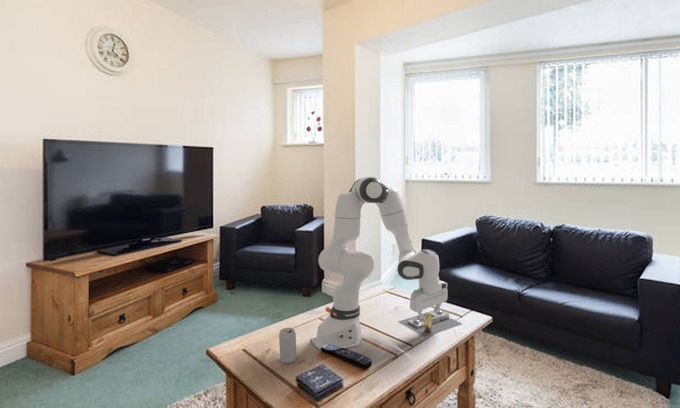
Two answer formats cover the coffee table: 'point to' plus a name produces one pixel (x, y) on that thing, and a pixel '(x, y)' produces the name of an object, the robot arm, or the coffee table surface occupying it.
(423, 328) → the gray base plate
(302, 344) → the coffee table surface
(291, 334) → the beverage can
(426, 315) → the brass pin
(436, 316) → the slotted latch plate
